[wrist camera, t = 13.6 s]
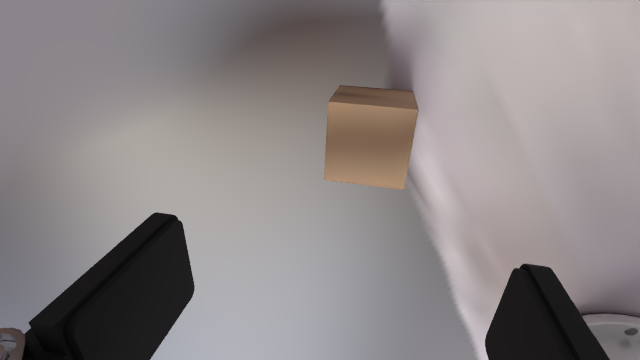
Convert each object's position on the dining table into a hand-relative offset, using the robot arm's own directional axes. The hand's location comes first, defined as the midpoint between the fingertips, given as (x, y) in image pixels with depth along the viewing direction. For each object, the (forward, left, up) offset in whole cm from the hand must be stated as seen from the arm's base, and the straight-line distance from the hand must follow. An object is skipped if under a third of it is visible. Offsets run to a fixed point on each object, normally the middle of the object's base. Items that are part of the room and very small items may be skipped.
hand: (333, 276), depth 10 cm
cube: (0, 0, -16) cm, 16 cm away
